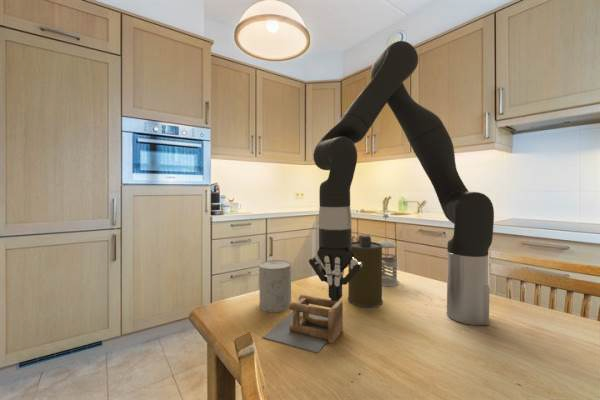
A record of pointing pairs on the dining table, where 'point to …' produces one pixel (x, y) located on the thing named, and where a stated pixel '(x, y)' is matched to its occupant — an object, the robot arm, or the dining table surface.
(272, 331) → the mat
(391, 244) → the french press
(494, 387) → the dining table surface
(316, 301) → the wooden dowel frame
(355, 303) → the canister
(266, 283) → the grey mottled cylinder
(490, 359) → the dining table surface
